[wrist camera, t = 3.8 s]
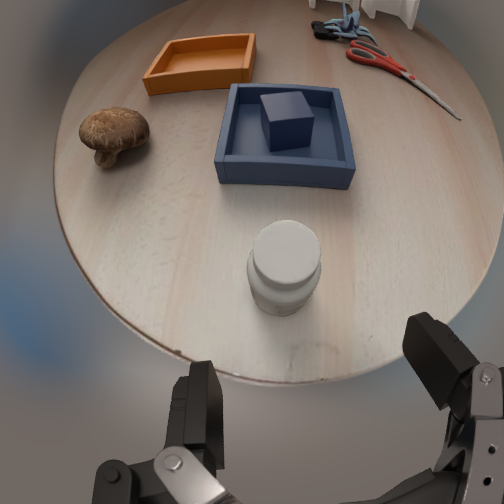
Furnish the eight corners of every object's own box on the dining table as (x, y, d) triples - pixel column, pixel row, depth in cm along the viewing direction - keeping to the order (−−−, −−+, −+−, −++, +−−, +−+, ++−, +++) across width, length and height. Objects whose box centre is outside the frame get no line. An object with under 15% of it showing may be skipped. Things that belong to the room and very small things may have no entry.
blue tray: (219, 183, 25) (213, 162, 22) (234, 104, 29) (231, 83, 26) (347, 190, 24) (356, 169, 21) (334, 109, 28) (339, 88, 25)
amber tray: (148, 96, 31) (141, 78, 28) (171, 55, 35) (167, 41, 32) (250, 88, 30) (248, 68, 27) (256, 49, 34) (255, 33, 31)
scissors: (460, 122, 28) (464, 115, 26) (336, 55, 33) (337, 47, 32) (463, 102, 30) (467, 96, 28) (354, 43, 35) (355, 37, 34)
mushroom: (75, 179, 22) (76, 116, 19) (80, 155, 28) (82, 106, 24) (151, 174, 26) (158, 114, 23) (141, 152, 32) (147, 104, 28)
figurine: (380, 53, 36) (388, 23, 28) (316, 50, 37) (317, 17, 30) (365, 25, 37) (369, -3, 30) (306, 23, 39) (305, -7, 31)
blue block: (269, 152, 25) (269, 121, 21) (261, 125, 26) (259, 95, 23) (310, 146, 25) (315, 116, 21) (298, 120, 27) (301, 90, 23)
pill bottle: (320, 279, 21) (345, 238, 14) (288, 327, 20) (301, 311, 13) (272, 249, 22) (273, 196, 15) (239, 295, 21) (224, 261, 14)
